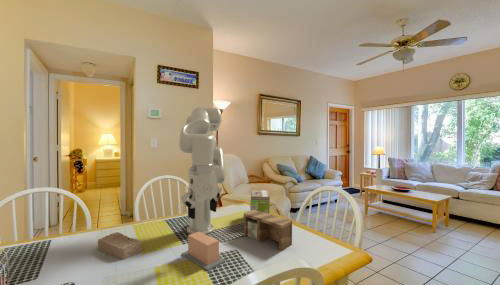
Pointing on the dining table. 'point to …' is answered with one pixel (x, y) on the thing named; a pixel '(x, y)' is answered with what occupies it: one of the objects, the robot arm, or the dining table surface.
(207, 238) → the block
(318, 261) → the dining table surface
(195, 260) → the mat
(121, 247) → the brick
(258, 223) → the cubby
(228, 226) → the dining table surface
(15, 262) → the dining table surface
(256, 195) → the tea box
